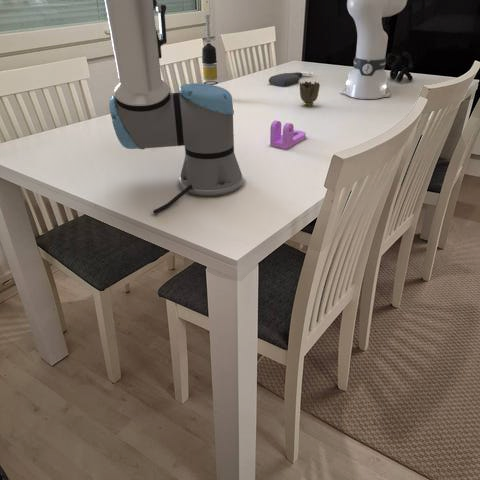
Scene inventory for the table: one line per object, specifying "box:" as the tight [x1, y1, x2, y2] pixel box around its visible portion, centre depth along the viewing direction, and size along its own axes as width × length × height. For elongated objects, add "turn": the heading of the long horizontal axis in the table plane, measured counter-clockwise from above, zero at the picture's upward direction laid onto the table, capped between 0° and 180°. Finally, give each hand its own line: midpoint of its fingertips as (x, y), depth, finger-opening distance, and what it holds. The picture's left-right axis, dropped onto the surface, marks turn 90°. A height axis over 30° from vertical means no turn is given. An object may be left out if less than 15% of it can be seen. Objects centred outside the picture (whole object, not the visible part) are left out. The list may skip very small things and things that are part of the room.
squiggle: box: [385, 51, 414, 83], centre depth 198 cm, size 11×10×15 cm
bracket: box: [269, 119, 306, 150], centre depth 133 cm, size 13×6×7 cm, turn 143°
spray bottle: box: [268, 70, 315, 87], centre depth 203 cm, size 3×11×24 cm
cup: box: [299, 81, 321, 107], centre depth 165 cm, size 8×7×8 cm
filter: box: [201, 14, 219, 86], centre depth 171 cm, size 6×6×30 cm
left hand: (149, 71), depth 130 cm, fingers closed on block, 4 cm apart
